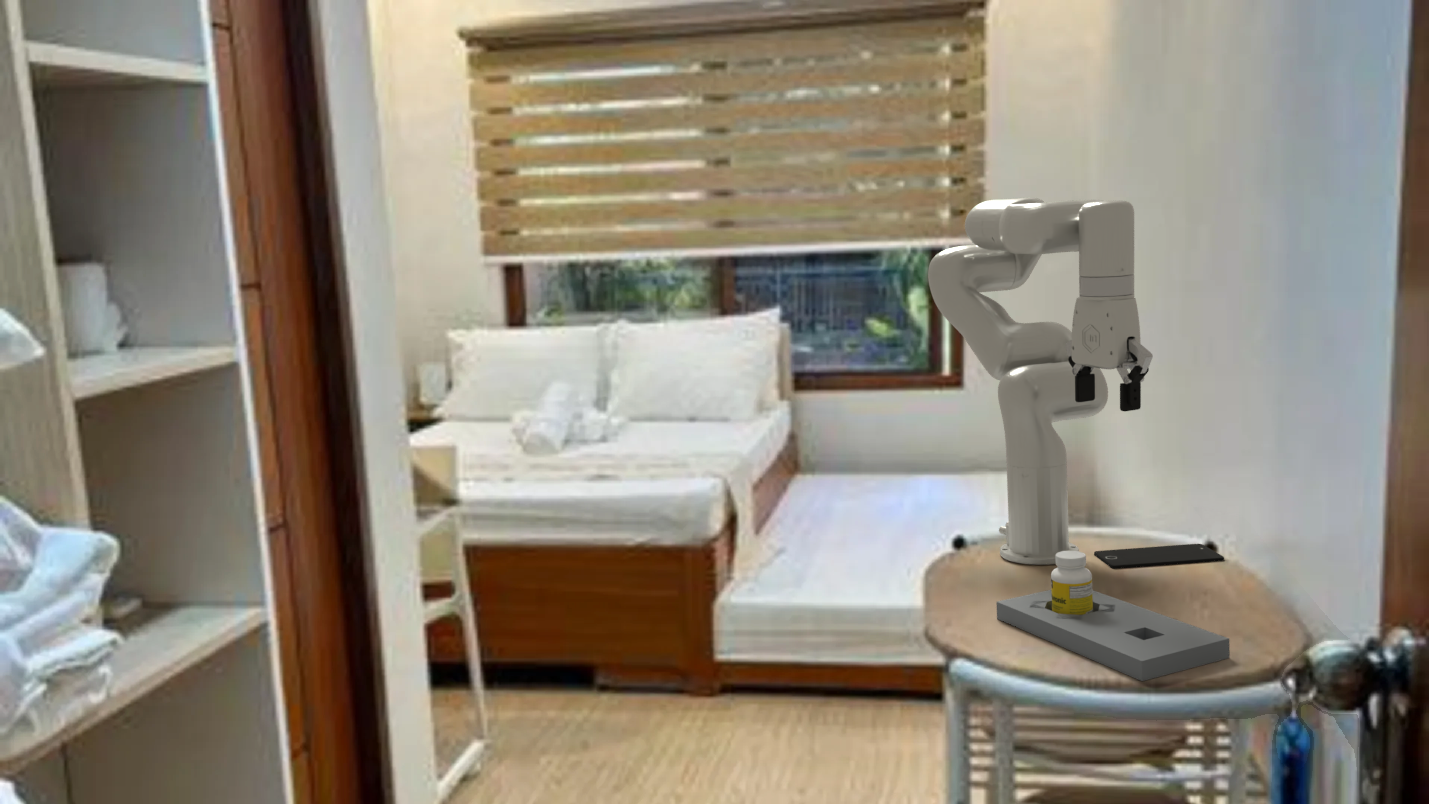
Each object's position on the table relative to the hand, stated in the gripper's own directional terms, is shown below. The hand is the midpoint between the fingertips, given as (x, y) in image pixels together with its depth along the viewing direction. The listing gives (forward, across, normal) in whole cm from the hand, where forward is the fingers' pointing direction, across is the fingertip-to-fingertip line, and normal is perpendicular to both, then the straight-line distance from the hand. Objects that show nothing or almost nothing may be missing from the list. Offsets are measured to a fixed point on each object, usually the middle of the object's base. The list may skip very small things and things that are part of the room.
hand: (1107, 405), depth 175 cm
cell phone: (+28, -8, +17) cm, 34 cm away
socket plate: (+27, +17, -15) cm, 35 cm away
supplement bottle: (+28, +10, -15) cm, 33 cm away
